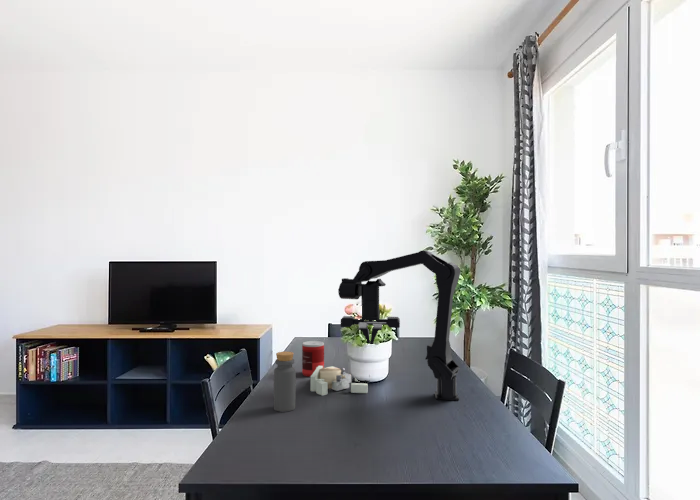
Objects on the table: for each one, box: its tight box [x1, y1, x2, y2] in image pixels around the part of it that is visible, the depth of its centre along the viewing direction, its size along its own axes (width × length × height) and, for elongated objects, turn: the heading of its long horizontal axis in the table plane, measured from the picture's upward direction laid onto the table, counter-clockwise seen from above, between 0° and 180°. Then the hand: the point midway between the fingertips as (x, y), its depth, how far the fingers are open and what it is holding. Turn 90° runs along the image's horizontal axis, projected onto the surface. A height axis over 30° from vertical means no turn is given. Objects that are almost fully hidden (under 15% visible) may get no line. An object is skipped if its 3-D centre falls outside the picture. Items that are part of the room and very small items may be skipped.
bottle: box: [273, 351, 297, 413], centre depth 121 cm, size 6×6×15 cm
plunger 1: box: [332, 375, 350, 392], centre depth 139 cm, size 5×2×4 cm, turn 129°
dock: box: [309, 366, 369, 396], centre depth 143 cm, size 22×18×4 cm
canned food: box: [301, 340, 325, 378], centre depth 157 cm, size 8×8×11 cm
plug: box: [319, 366, 341, 390], centre depth 143 cm, size 7×7×5 cm
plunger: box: [339, 367, 352, 384], centre depth 147 cm, size 5×2×4 cm, turn 39°
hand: (370, 348), depth 143 cm, fingers closed
